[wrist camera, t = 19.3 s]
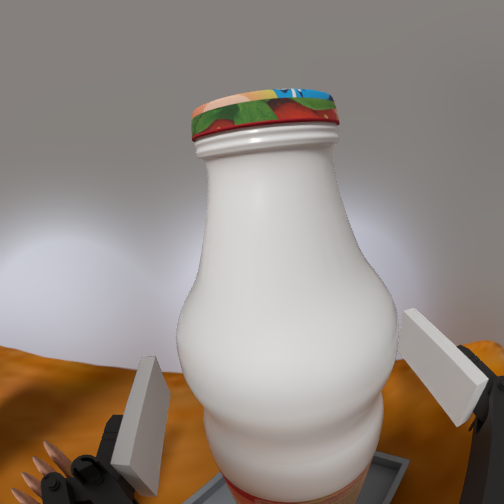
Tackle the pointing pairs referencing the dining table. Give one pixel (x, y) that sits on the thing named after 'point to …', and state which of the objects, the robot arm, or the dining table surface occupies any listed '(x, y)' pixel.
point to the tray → (369, 499)
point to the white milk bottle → (284, 306)
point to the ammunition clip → (43, 473)
